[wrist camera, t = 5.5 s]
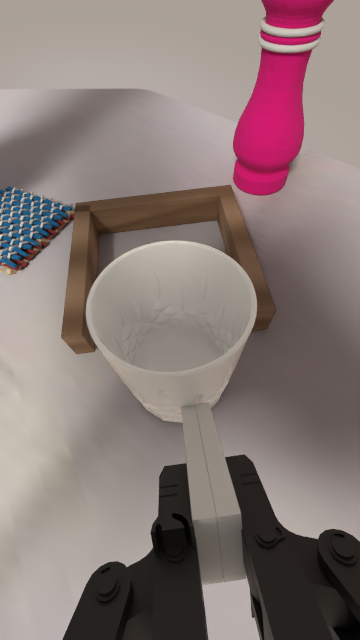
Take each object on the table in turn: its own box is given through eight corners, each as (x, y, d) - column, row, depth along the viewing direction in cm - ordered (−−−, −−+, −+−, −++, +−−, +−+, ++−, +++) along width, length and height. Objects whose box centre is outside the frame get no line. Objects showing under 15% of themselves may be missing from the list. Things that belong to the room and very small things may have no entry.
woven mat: (15, 195, 35) (5, 180, 33) (81, 218, 32) (75, 203, 30) (-52, 250, 30) (-67, 236, 29) (18, 282, 28) (6, 268, 26)
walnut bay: (267, 328, 23) (276, 309, 21) (76, 353, 23) (61, 337, 20) (227, 209, 31) (230, 184, 28) (85, 226, 31) (75, 203, 28)
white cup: (151, 323, 24) (129, 228, 16) (241, 348, 22) (270, 256, 14) (110, 411, 20) (50, 344, 12) (216, 449, 18) (235, 404, 10)
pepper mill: (248, 156, 36) (297, -138, 19) (299, 175, 34) (409, -146, 17) (217, 184, 33) (241, -131, 16) (270, 206, 31) (365, -138, 14)
